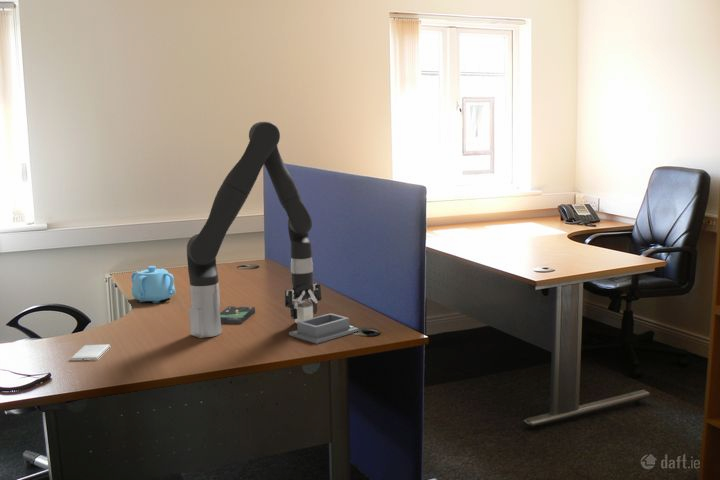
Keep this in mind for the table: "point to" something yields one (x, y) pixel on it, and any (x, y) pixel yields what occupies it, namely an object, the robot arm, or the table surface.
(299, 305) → the block
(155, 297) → the decorative pot
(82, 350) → the hard drive
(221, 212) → the robot arm
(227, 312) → the disk drive
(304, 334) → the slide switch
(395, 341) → the table surface
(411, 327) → the table surface
